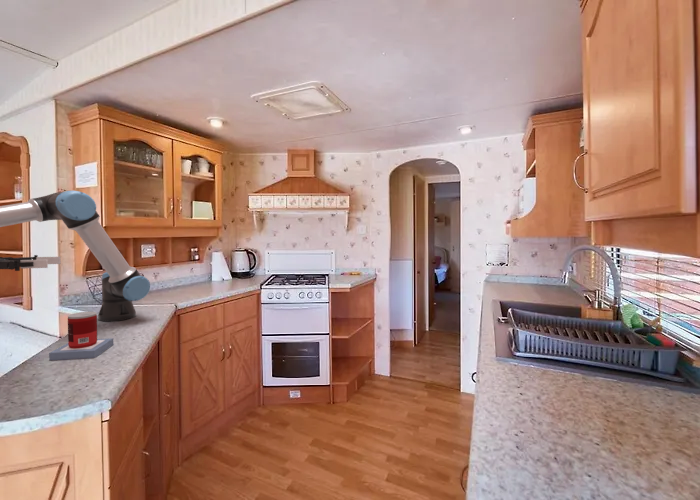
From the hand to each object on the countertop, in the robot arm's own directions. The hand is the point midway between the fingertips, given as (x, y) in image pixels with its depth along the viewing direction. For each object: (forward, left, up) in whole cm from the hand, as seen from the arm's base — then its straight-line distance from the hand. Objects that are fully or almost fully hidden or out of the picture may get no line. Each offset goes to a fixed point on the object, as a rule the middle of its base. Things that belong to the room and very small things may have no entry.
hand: (54, 261), depth 115 cm
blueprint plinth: (+5, +11, -32) cm, 34 cm away
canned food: (+5, +11, -29) cm, 32 cm away
